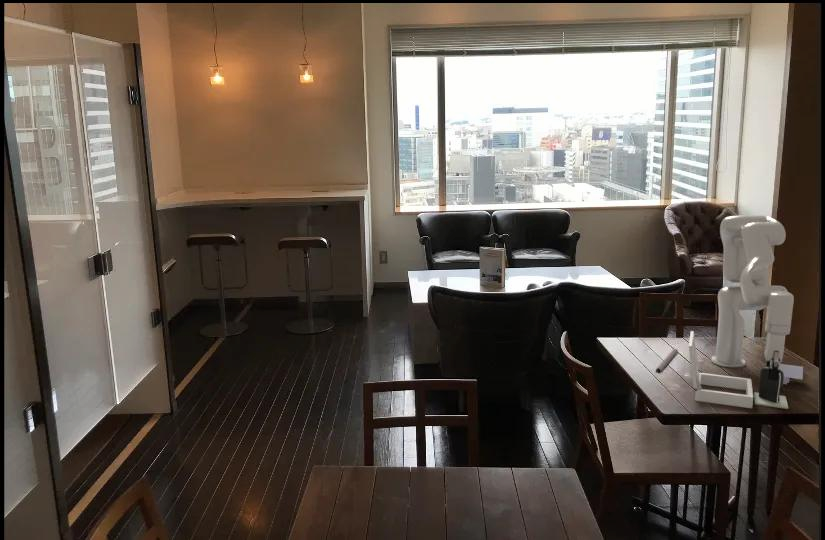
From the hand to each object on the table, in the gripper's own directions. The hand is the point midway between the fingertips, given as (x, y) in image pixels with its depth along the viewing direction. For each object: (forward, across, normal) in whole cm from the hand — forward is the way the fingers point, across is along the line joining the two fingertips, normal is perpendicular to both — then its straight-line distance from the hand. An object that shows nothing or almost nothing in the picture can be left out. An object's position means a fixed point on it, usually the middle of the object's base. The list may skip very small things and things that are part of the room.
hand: (772, 374), depth 231 cm
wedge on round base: (+10, -21, +5) cm, 24 cm away
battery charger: (+9, +1, 0) cm, 9 cm away
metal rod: (+11, -27, -35) cm, 46 cm away
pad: (+10, +1, 0) cm, 10 cm away
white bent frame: (+10, +1, -16) cm, 19 cm away
